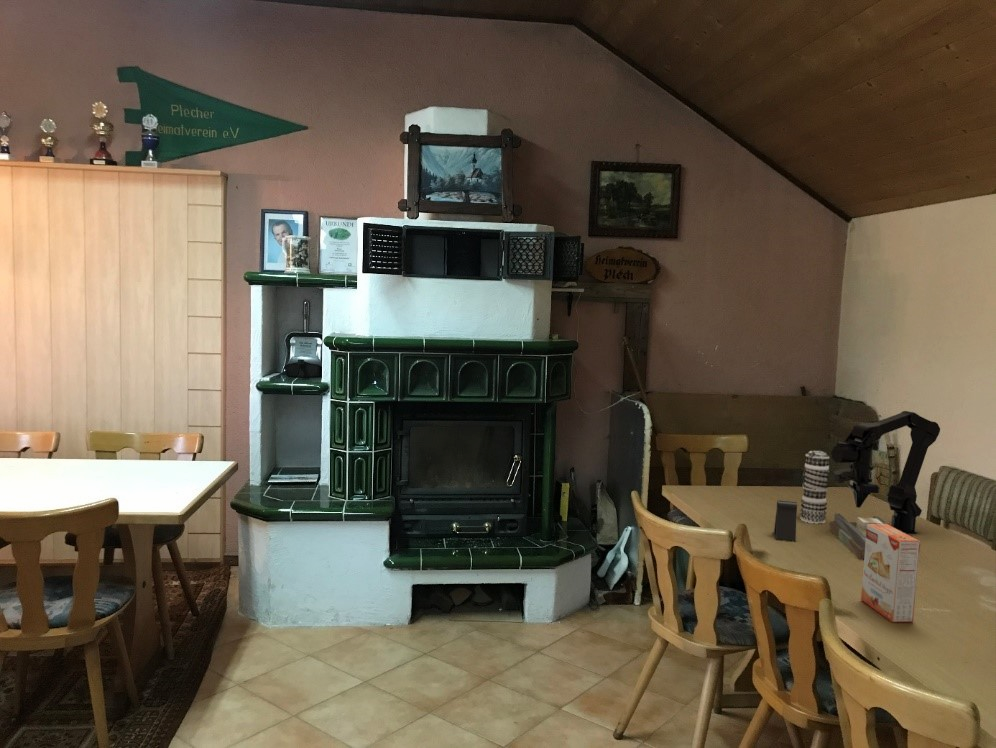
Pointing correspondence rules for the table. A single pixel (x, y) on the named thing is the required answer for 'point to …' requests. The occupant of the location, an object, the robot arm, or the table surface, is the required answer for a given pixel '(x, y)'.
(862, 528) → the cream block
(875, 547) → the cracker box
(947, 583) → the table surface
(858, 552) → the channel board
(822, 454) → the decorative candle
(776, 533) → the phone stand
